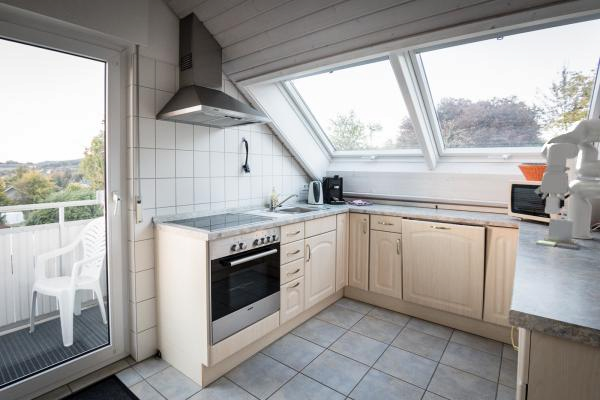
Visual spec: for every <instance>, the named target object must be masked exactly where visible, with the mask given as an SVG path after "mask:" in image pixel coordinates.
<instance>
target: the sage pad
mask: <svg viewBox="0 0 600 400" xmlns="http://www.w3.org/2000/svg"><path fill="white" fill-rule="evenodd" d="M536 245H538V246H540V245H541V246H546V247H547V246H548V247H555V246H557V243H556V242H550V241H544V240H540V239H539V240H537V241H536Z"/></svg>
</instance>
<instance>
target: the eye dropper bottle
mask: <svg viewBox="0 0 600 400" xmlns="http://www.w3.org/2000/svg"><path fill="white" fill-rule="evenodd" d="M560 200H561V196H560V197H559V196H558V194H551V193H550V196H549V195H548V196H546V206H545V207H544V213H545V214H547V215H548V214H550V215H559V214H560V213H561V208H560Z"/></svg>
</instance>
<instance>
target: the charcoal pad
mask: <svg viewBox="0 0 600 400" xmlns="http://www.w3.org/2000/svg"><path fill="white" fill-rule="evenodd" d="M556 247H557V248H560V249H561V248H563V249H569V250H577V249H578V244H575V245H573V244H565V243H556Z"/></svg>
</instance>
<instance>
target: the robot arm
mask: <svg viewBox="0 0 600 400" xmlns="http://www.w3.org/2000/svg"><path fill="white" fill-rule="evenodd" d="M593 143H600V118H598V117H597V118H587V119H580V120H577V121H575V122H574V123H572V125H571V126H570V127H569V128H568V130H567V131H566V132H564V133H561V134H558V135H556V136H554V137H552V138H550V139H548V140H547V141H546V142H545V144H544V145H543V146H542V148H541V152H540V154H541V156H542V157H541V158H543V159H544V160H546V161H545V172H543V175H542V179H541V183H540V186H539V187H537V188H536V189H535V190H534V193H535V194H536V195H537V196H539V197H540V198H541V199H542V200H541V206H542V207H543V208H545V206H546V198H547V197H548V196H547V195H548V194H550V195H551V194H557V195H560V198H561V200H560V210H561V209H563V207H565V202H566V201H565V200H566V199H567V198H568V199H569V202H568V215H567V220H574V222H573V233H572V239H579V240H580V239H582V240H592V239H593V238H594V236H593V235H590V232H591V231H590V230H591V222H592V221H591V220H592V210H593V205H592V204H591V202H590V201H589V200H588V198H589V199H591V198H593V199H600V159H599V153H600V152H599V150H598V149H597V147H596V146H595V145H594V144H593ZM575 158H576V164H575V171H574V173H575V176H576V177H578V178H584V179H574V180H572V181H570V182H569V174H568V172H566V171H570V169H571V167H570V166H569V167H568V166H567V160H572V159H575ZM585 178H587V179H585ZM589 178H590V179H589ZM542 193H543V194H542ZM567 193H568V194H567ZM565 194H566V195H565Z"/></svg>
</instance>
